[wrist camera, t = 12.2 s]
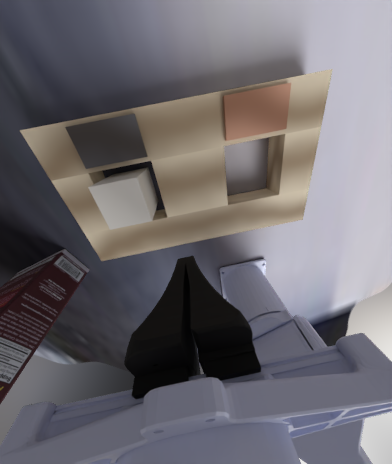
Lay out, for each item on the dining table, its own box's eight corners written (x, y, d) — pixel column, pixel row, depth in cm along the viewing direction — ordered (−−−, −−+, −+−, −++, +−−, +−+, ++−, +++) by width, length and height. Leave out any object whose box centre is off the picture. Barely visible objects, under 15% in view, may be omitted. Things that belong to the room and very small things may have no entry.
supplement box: (48, 290, 25) (-107, 470, 11) (18, 271, 23) (-224, 469, 9) (92, 269, 24) (-19, 440, 10) (66, 246, 22) (-124, 429, 8)
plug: (158, 200, 20) (152, 221, 15) (127, 206, 20) (110, 229, 15) (148, 167, 18) (137, 177, 13) (113, 174, 18) (87, 187, 13)
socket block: (288, 210, 23) (304, 220, 20) (110, 247, 22) (100, 263, 19) (306, 81, 16) (336, 67, 13) (46, 132, 15) (15, 130, 12)
